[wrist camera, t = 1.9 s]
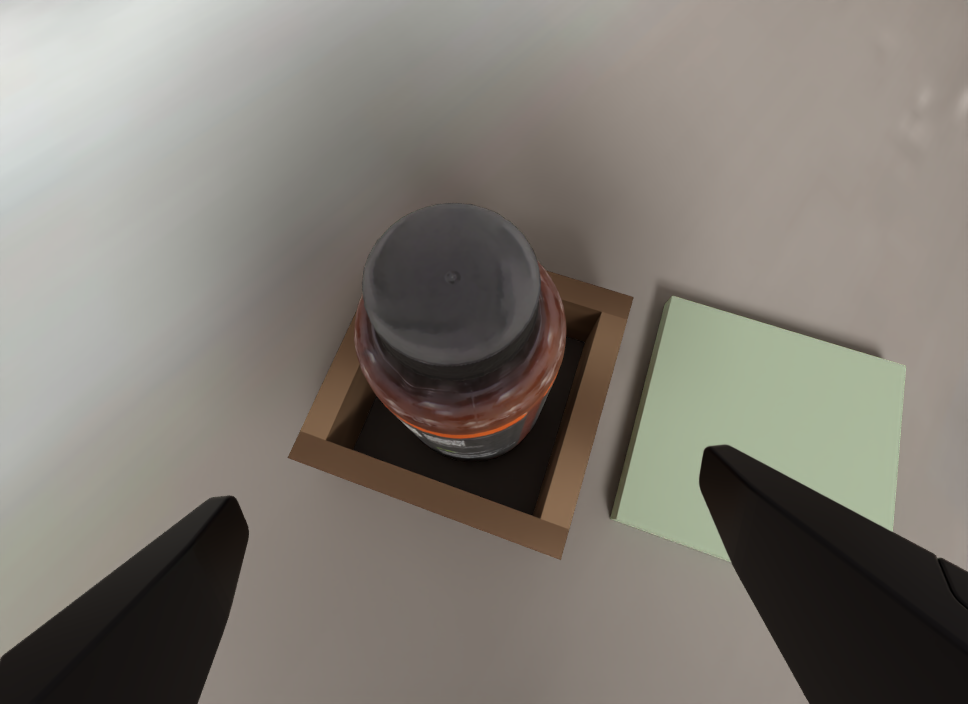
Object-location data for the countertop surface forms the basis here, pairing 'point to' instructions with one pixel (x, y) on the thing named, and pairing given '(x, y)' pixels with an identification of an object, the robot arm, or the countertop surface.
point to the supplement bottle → (459, 329)
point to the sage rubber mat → (757, 420)
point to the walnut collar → (331, 450)
